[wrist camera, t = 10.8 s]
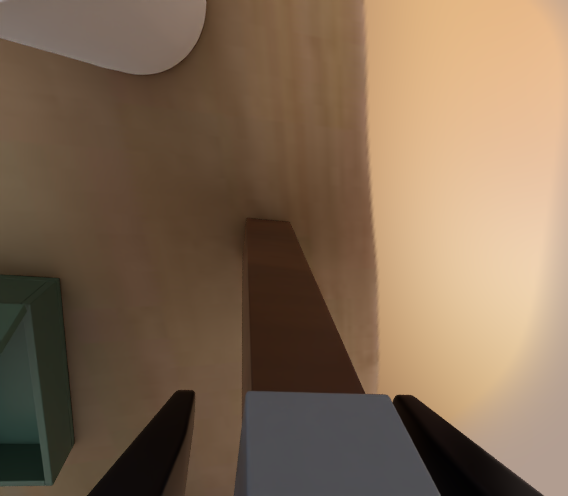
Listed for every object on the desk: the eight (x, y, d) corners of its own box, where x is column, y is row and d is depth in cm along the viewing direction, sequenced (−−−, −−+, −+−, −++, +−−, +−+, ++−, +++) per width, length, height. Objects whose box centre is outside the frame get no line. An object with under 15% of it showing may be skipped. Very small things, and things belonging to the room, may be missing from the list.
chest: (74, 443, 23) (52, 485, 21) (-21, 442, 23) (-57, 487, 20) (59, 278, 19) (30, 304, 17) (-57, 270, 19) (-108, 297, 16)
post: (284, 262, 21) (350, 494, 8) (242, 258, 20) (241, 496, 8) (289, 221, 20) (373, 408, 7) (246, 217, 19) (252, 406, 7)
